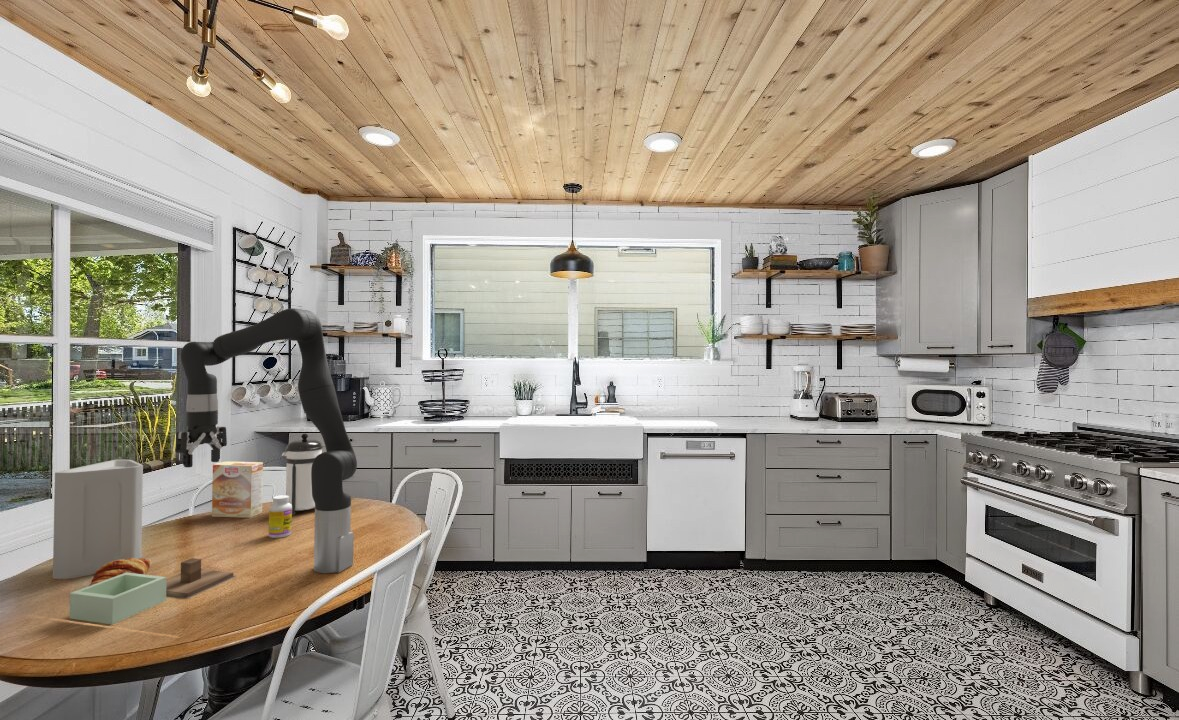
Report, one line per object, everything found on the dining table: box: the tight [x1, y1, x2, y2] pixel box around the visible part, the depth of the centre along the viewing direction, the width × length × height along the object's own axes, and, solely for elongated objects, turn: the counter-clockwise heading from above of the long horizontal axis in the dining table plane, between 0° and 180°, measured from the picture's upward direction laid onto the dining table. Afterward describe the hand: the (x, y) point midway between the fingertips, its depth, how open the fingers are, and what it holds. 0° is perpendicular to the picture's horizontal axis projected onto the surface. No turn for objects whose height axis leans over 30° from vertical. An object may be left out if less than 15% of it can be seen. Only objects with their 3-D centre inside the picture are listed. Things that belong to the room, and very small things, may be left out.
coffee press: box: [281, 433, 324, 517], centre depth 207 cm, size 17×16×30 cm
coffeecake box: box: [211, 460, 264, 519], centre depth 199 cm, size 15×7×20 cm, turn 88°
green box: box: [69, 572, 168, 627], centre depth 123 cm, size 12×12×6 cm
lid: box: [166, 557, 235, 598], centre depth 137 cm, size 13×13×6 cm
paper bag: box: [52, 459, 144, 580], centre depth 150 cm, size 19×15×28 cm
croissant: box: [88, 557, 152, 586], centre depth 138 cm, size 21×10×8 cm, turn 10°
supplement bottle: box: [268, 494, 293, 539], centre depth 177 cm, size 7×7×13 cm
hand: (202, 464), depth 156 cm, fingers open, 8 cm apart
